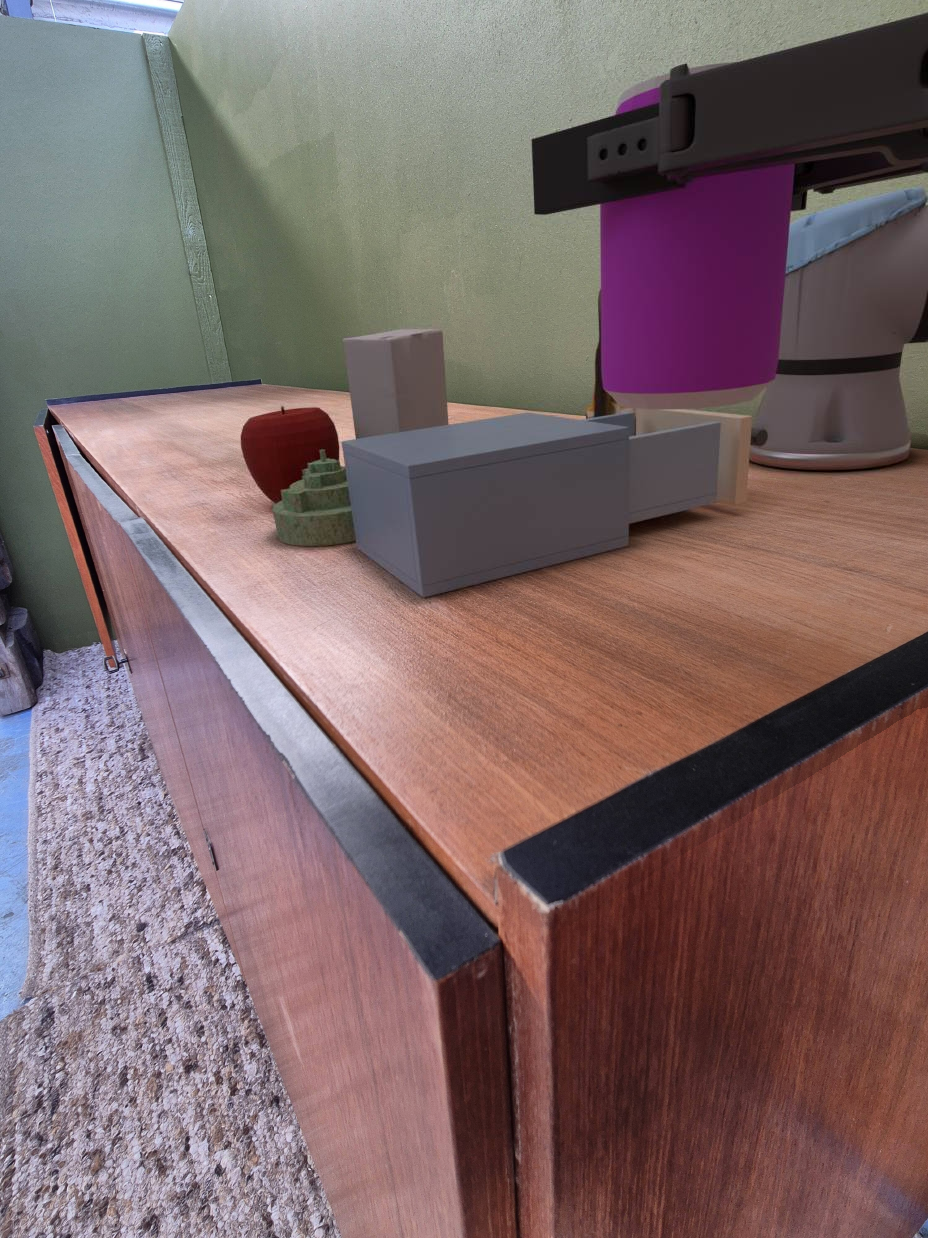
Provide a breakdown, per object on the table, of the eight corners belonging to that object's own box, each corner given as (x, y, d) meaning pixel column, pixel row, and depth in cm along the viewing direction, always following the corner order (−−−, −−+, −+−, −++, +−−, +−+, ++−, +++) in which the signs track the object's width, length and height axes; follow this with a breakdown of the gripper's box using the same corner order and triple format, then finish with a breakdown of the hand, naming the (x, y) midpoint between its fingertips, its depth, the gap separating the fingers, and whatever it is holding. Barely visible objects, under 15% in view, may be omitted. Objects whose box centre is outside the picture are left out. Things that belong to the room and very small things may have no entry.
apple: (249, 503, 76) (229, 407, 73) (337, 489, 79) (322, 396, 76) (259, 522, 68) (238, 415, 64) (356, 506, 71) (341, 402, 67)
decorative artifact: (351, 549, 58) (410, 515, 66) (338, 462, 55) (401, 438, 63) (254, 543, 62) (320, 512, 70) (237, 461, 59) (308, 439, 67)
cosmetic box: (409, 480, 81) (392, 329, 74) (460, 484, 77) (447, 325, 70) (358, 498, 74) (334, 335, 68) (410, 503, 70) (390, 331, 64)
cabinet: (532, 510, 64) (528, 412, 61) (629, 546, 52) (629, 426, 49) (357, 548, 58) (341, 441, 54) (423, 598, 46) (408, 465, 43)
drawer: (685, 470, 70) (688, 398, 67) (790, 491, 59) (798, 407, 56) (503, 509, 62) (498, 429, 59) (587, 541, 51) (585, 446, 49)
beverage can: (755, 384, 36) (776, 98, 31) (795, 404, 29) (830, 40, 24) (600, 395, 37) (598, 122, 33) (603, 416, 30) (600, 74, 26)
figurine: (651, 476, 72) (655, 256, 64) (575, 477, 75) (570, 266, 67) (655, 466, 76) (659, 259, 69) (582, 467, 79) (579, 267, 71)
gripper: (1364, 157, 12) (445, 281, 27) (1291, 201, 26) (698, 268, 41) (1597, -502, 9) (424, 40, 24) (1380, -69, 23) (704, 111, 38)
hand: (595, 182), depth 33 cm, fingers closed on beverage can, 8 cm apart
